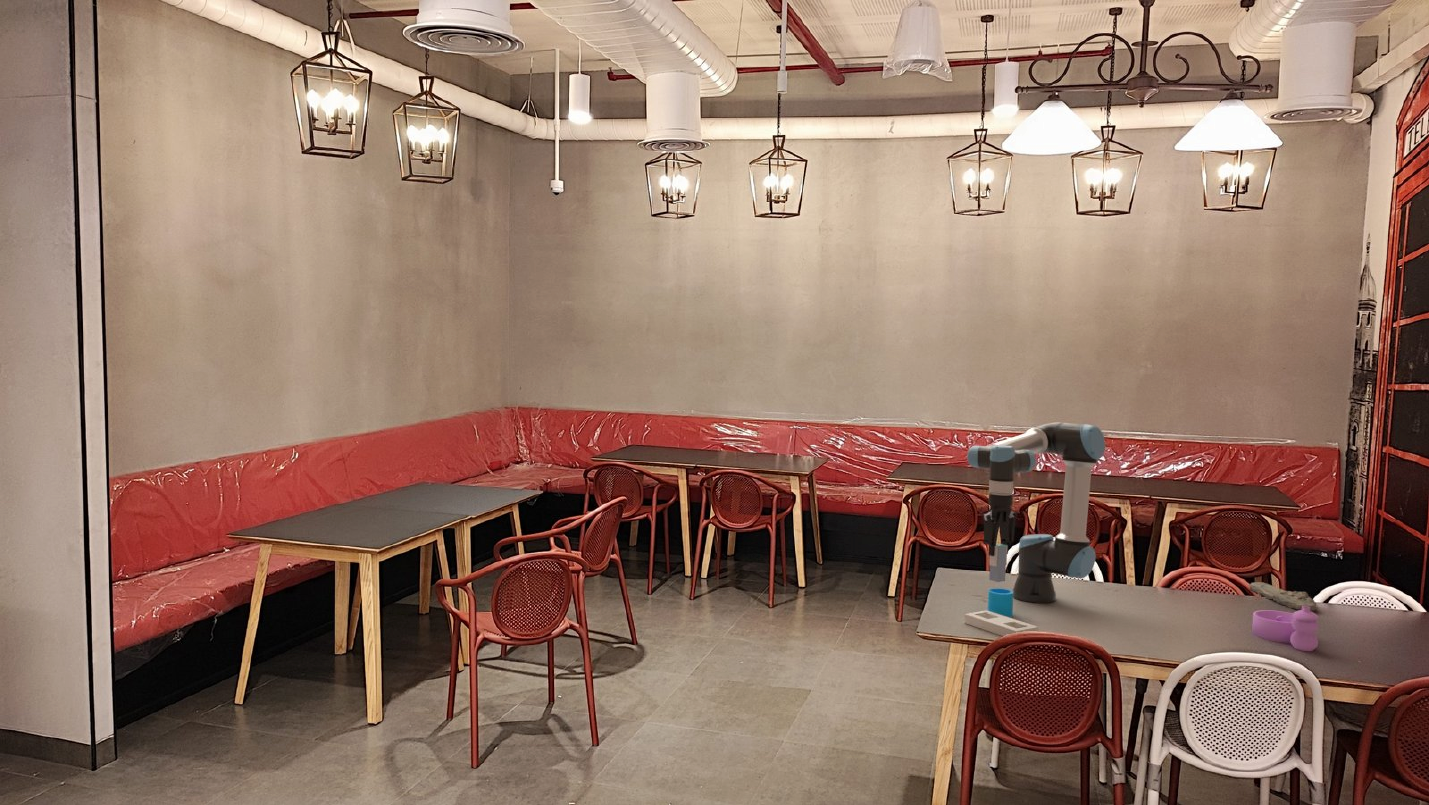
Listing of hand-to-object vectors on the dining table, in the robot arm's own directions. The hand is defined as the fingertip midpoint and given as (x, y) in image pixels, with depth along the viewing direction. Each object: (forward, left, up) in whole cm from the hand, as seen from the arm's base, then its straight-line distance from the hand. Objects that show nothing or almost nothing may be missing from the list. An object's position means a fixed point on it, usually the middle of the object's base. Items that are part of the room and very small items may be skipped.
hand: (997, 564), depth 331 cm
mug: (-15, -12, -21) cm, 29 cm away
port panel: (0, +2, -21) cm, 21 cm away
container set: (-74, +54, -21) cm, 94 cm away
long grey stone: (-123, +24, -21) cm, 127 cm away
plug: (0, 0, -5) cm, 5 cm away
